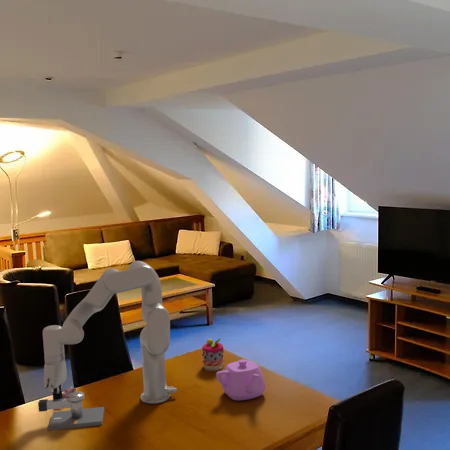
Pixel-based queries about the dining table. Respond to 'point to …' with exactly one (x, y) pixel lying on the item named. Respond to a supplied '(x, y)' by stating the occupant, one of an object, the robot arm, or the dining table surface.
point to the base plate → (66, 421)
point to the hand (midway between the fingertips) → (58, 401)
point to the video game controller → (68, 392)
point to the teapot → (242, 380)
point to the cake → (213, 355)
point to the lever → (65, 404)
